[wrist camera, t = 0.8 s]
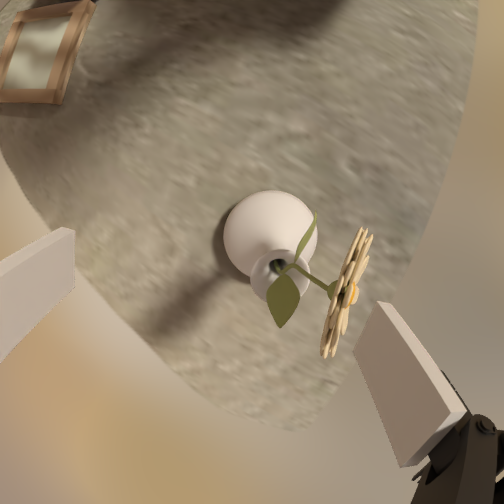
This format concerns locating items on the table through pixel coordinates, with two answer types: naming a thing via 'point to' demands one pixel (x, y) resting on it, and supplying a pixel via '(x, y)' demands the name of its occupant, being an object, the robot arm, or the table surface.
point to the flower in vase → (290, 258)
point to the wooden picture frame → (42, 52)
